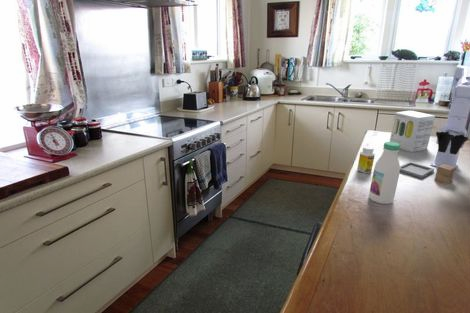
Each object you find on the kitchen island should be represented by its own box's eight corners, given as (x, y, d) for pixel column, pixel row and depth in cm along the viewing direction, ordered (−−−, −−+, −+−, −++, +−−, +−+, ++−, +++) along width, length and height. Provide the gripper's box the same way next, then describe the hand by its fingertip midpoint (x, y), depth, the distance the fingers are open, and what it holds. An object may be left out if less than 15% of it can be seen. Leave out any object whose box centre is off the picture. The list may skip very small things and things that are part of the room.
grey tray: (408, 164, 139) (409, 161, 139) (433, 172, 132) (434, 168, 132) (396, 170, 132) (396, 167, 132) (421, 179, 125) (422, 175, 124)
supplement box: (387, 144, 166) (394, 112, 160) (404, 141, 172) (411, 110, 166) (411, 152, 155) (419, 117, 149) (427, 149, 161) (436, 115, 155)
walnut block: (438, 177, 127) (442, 163, 125) (451, 181, 123) (455, 167, 121) (434, 180, 124) (438, 166, 122) (447, 184, 121) (451, 170, 119)
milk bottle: (391, 196, 110) (403, 141, 103) (394, 206, 103) (407, 148, 96) (368, 192, 112) (378, 138, 105) (369, 202, 105) (380, 145, 99)
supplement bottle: (365, 174, 128) (370, 150, 124) (354, 170, 132) (358, 146, 129) (374, 171, 131) (378, 148, 127) (362, 167, 135) (366, 144, 131)
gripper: (457, 115, 111) (447, 153, 113) (479, 121, 118) (469, 157, 119) (437, 113, 117) (428, 149, 119) (459, 119, 124) (449, 153, 126)
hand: (447, 153), depth 120 cm, fingers open, 7 cm apart
